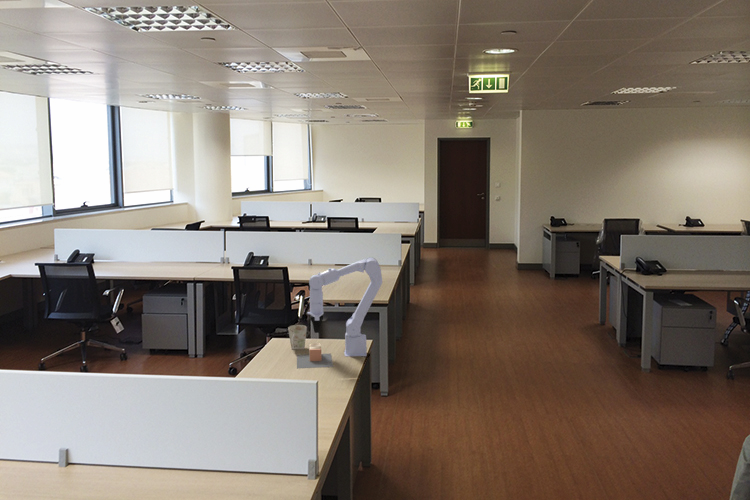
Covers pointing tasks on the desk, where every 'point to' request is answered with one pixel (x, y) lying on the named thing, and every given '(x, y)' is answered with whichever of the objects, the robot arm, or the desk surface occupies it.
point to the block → (315, 352)
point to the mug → (297, 336)
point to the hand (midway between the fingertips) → (316, 332)
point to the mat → (305, 362)
